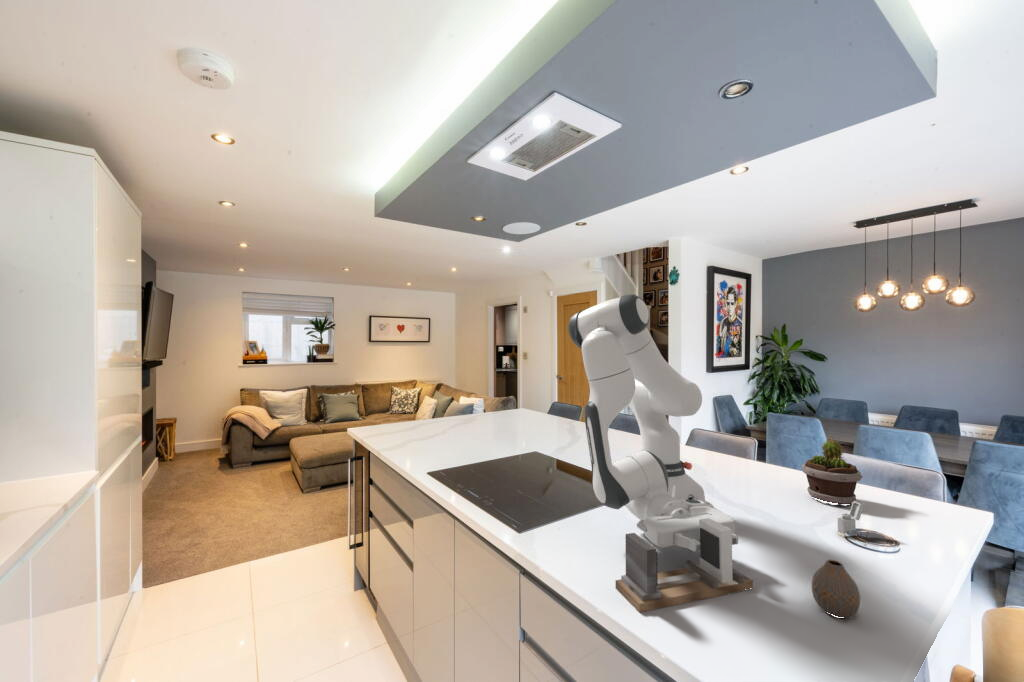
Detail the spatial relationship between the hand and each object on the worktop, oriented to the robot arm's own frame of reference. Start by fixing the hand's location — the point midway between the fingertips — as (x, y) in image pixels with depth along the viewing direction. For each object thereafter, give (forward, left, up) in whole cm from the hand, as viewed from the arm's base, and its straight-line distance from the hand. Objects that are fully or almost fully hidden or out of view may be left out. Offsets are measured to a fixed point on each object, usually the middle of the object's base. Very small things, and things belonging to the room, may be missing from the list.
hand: (716, 544), depth 83 cm
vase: (-14, +13, -8) cm, 21 cm away
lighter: (-51, -9, -8) cm, 52 cm away
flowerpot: (-71, -28, -8) cm, 77 cm away
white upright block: (0, -1, -6) cm, 7 cm away
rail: (+7, -1, -8) cm, 11 cm away
